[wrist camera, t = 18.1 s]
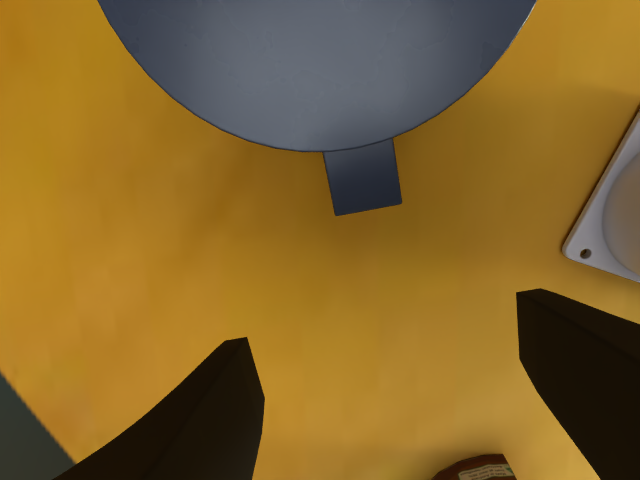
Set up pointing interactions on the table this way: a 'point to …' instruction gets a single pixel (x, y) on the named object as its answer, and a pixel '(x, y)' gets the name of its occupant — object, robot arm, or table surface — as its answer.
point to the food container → (479, 469)
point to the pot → (363, 178)
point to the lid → (316, 62)
